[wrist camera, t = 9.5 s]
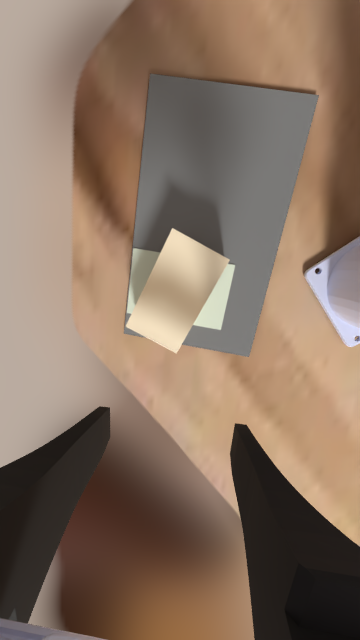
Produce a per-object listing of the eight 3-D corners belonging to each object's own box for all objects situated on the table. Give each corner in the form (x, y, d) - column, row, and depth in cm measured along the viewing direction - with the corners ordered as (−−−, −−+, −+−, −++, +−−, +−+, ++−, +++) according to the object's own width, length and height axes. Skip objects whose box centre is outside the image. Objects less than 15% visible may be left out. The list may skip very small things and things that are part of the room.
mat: (151, 77, 16) (149, 72, 16) (315, 99, 16) (319, 94, 15) (125, 332, 21) (123, 333, 21) (248, 355, 21) (249, 357, 20)
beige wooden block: (177, 234, 18) (172, 228, 15) (224, 260, 18) (229, 259, 15) (137, 316, 20) (125, 326, 17) (180, 339, 20) (176, 353, 17)
